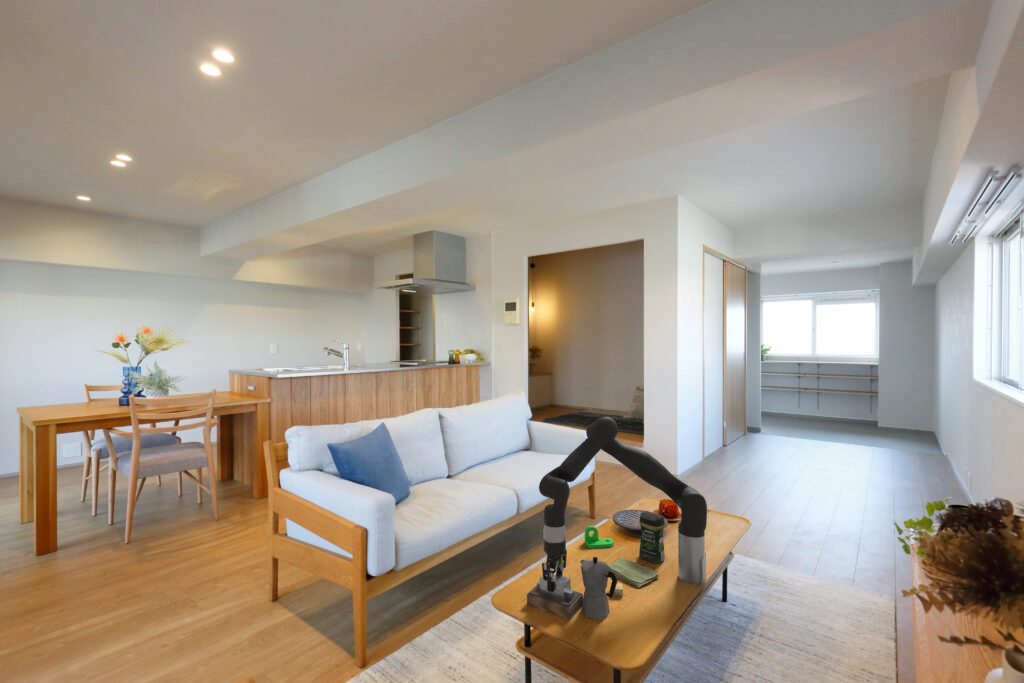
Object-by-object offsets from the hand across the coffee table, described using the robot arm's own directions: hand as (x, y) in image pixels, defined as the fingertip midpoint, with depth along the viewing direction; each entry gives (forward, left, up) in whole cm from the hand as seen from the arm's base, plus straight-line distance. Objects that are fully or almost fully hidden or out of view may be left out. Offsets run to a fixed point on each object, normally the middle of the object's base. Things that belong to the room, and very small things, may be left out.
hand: (555, 586), depth 158 cm
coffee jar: (-18, -51, -7) cm, 54 cm away
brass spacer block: (-15, -18, -7) cm, 24 cm away
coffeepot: (-14, -3, -7) cm, 16 cm away
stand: (0, 0, -6) cm, 6 cm away
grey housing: (0, 0, -2) cm, 2 cm away
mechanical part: (+5, -52, -7) cm, 52 cm away
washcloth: (-15, -34, -7) cm, 37 cm away
